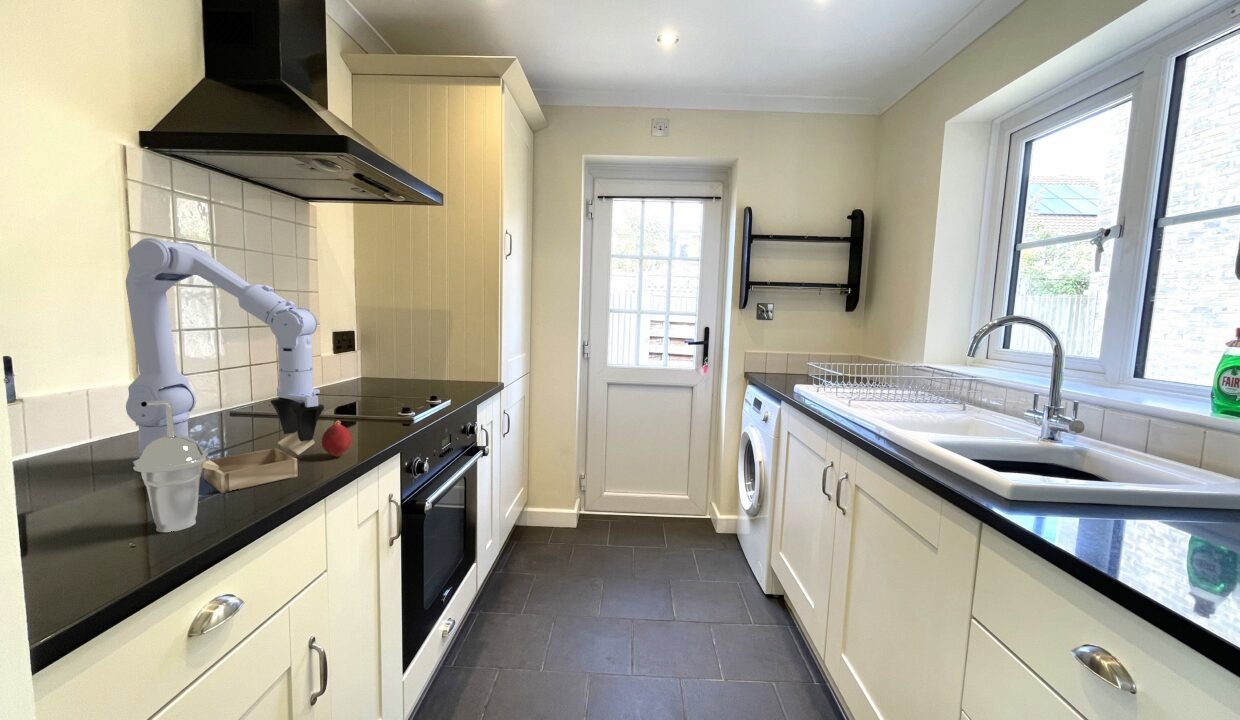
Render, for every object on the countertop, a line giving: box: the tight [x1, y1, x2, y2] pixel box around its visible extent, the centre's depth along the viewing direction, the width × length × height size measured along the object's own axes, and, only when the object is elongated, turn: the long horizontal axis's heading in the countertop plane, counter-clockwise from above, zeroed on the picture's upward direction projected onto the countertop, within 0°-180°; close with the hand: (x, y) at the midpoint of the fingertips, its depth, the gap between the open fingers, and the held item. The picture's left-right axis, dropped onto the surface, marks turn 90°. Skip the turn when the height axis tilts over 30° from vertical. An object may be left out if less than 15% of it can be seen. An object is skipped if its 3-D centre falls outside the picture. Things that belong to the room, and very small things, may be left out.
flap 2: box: [277, 432, 316, 456], centre depth 102 cm, size 9×4×1 cm
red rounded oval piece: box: [321, 420, 353, 458], centre depth 111 cm, size 6×6×8 cm
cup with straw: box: [132, 401, 210, 533], centre depth 75 cm, size 8×9×20 cm
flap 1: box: [203, 459, 219, 471], centre depth 90 cm, size 9×4×1 cm, turn 53°
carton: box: [202, 447, 299, 494], centre depth 97 cm, size 11×12×4 cm
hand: (297, 436), depth 103 cm, fingers open, 7 cm apart
